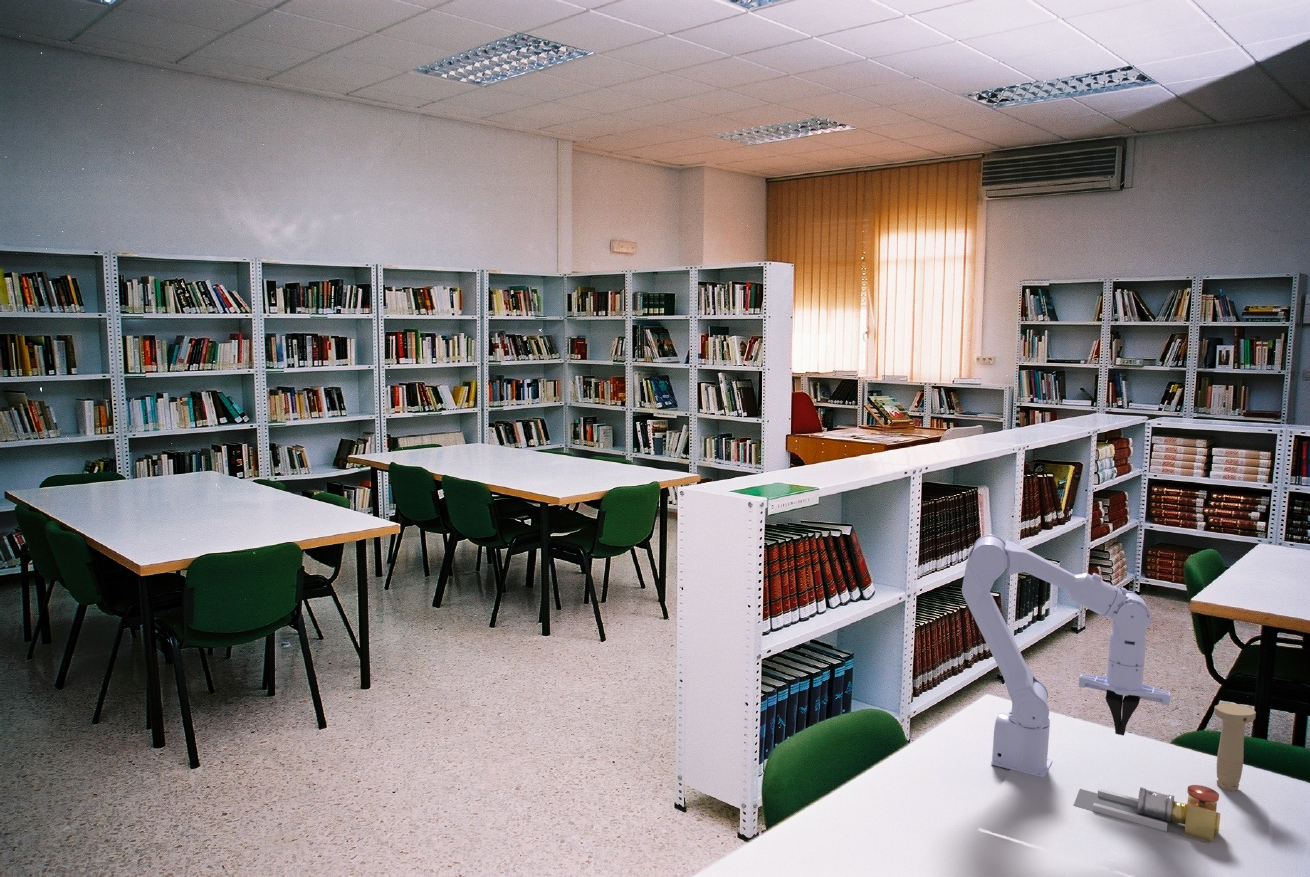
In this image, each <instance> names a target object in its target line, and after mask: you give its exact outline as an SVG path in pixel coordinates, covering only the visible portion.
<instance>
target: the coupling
mask: <svg viewBox="0 0 1310 877" xmlns="http://www.w3.org/2000/svg"><path fill="white" fill-rule="evenodd" d="M1137 799H1138V809H1137V813H1138V814H1142V815H1143V814H1145V815H1149V816H1153V817H1156V818H1160V819H1163V820H1166V821H1167V822H1171V823H1172V809H1173V802H1174V801H1175V795H1173V794H1165V793H1160V792H1157V791H1152V790H1149V789H1147V788H1145V787H1139V793H1138V798H1137Z"/></svg>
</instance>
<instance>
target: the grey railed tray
mask: <svg viewBox="0 0 1310 877" xmlns="http://www.w3.org/2000/svg"><path fill="white" fill-rule="evenodd" d="M1073 806H1074V807H1077V808H1081V809H1083V810H1087V811H1091V812H1095V813H1097V814H1101V815H1105V816H1109V817H1111V818H1116V819H1119V820H1123V821H1127V822H1131V823H1134V824H1137V825H1141V826H1144V827H1148V828H1151V829H1155V830H1157V831H1162V832H1165V833H1170V834H1173V835H1177V836H1180V837H1183V838H1187V839H1191V840H1194V841H1198V842H1202V843H1205V844H1209V845H1210V842H1211V841H1208V840H1204V839H1200V838H1197V837H1193V836H1190V835H1186V834H1184V833H1185V824H1181V823H1177V822H1174V821H1172V823H1171V822H1167V821H1166V820H1163V819H1160V818H1156V817H1153V816H1149V815H1145V814H1143V815H1142V814H1138V813H1137V809H1138V798H1135V797H1132V796H1128V795H1124V794H1121V793H1118V792H1114V791H1109V790H1107V789H1102V788H1098V790H1097V792H1095V791H1091V790H1087V789H1082V788H1079V790H1078V793H1077V795H1076V798H1075V801H1074V803H1073Z"/></svg>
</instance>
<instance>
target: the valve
mask: <svg viewBox="0 0 1310 877" xmlns="http://www.w3.org/2000/svg"><path fill="white" fill-rule="evenodd" d="M1186 789H1187V794H1188V796H1187V803H1182V802H1179V801H1175V800H1174V802H1173V809H1172V821H1174V822H1177V823H1181V824H1185V833H1184V834H1186V835H1190V836H1193V837H1197V838H1200V839H1204V840H1208V841H1210V842H1212V843H1214V836H1215V834H1219V832H1220V824H1221V823H1220V822H1221V812H1217V804H1218V802H1219V799H1220V794H1219V793H1218V791H1216V790H1215V789H1213V788H1210V787H1208V786H1206V785H1200V784H1191V785H1188V786H1187V788H1186Z"/></svg>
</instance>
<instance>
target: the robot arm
mask: <svg viewBox="0 0 1310 877" xmlns="http://www.w3.org/2000/svg"><path fill="white" fill-rule="evenodd" d="M1006 569H1007V570H1008V571H1007V574H1008V575H1009V576H1010V575H1016V574H1020V573H1021V574H1022V573H1026V574H1029V575H1031V576H1032V577H1035V578H1038V579H1040V580H1042V581H1045V582H1046V583H1049V584H1051V585H1053V586H1055V587H1057V588H1061V589H1062V590H1065V591H1066V592H1067V593H1068V595H1069V599H1070V601H1072V602H1073V603H1076V604H1077V605H1079V606H1082V607H1084V608H1086V609H1088V610H1090V611H1092V612H1094V613H1096V614H1097V615H1100V616H1102V617H1104V618H1109V619H1112V625H1111V627H1112V628H1111V632H1110V633H1109V634H1110V635H1109V647H1108V648H1109V649H1108V660H1107V661H1108V662H1107V671H1106V672H1107V673H1106V676H1103V675H1090V674H1084V673H1080V675H1079V678H1078V687H1079V688H1084V689H1086V688H1088V689H1089V688H1090V689H1094V690H1098V691H1103V692H1106V693H1105V698H1104V699H1105V701H1106V703H1107V704H1106V705H1108V708H1109V710H1110V713H1111V716H1112V720H1113V724H1114V732H1115V734H1116V735H1118V736H1125V734H1126V729H1127V725H1128V723H1129V721H1130V718H1131V717H1132V715H1133V714H1134V712H1135V711H1136V709H1137V707H1138V706H1139V703H1140V701H1141V699H1142V700H1146V701H1151V702H1156V703H1159V704H1160V703H1161V704H1162V705H1164V706H1167V707H1169V706H1170V703H1171V694H1172V692H1171V691H1168V690H1163V689H1160V688H1157V687H1155V686H1150V685H1148V684H1144V683H1143V682H1144V671H1145V670H1144V669H1145V668H1144V667H1145V659H1146V658H1145V657H1146V646H1147V639H1146V635H1147V628H1148V627H1149V626H1150V624H1151V623H1152V618H1151V613H1150V611H1149V608H1148V606H1147V604H1146V601H1144V599H1143V598H1142V597H1141V596H1140V595H1138V594H1137V593H1136V592H1135V591H1132V590H1127V589H1126V588H1125V587H1121V588H1118V587H1117V586H1114V585H1112V584H1110V583H1108V582H1106V581H1104V580H1102V578H1101V575H1099V574H1098V573H1096V572H1093V573H1092V575H1091V574H1090V573H1088V572H1083V573H1079V574H1074V573H1073V572H1070V571H1068V570H1066V569H1065V568H1063V567H1061V566H1059V565H1057V564H1055V563H1054V562H1051V561H1050V560H1048V559H1045V558H1044V557H1042V556H1040V555H1039V554H1037V553H1034V552H1032V551H1031V550H1029V549H1027V548H1025V547H1023V546H1022V545H1019V544H1017V543H1015V542H1013V541H1010V540H1007V539H1006V540H1003V538H1002V537H1000V536H998V535H995V534H984V535H982V536H980V537H979V538H978V539H976V540H975V542H974V544H973V545H972V547H971V549H970V551H969V553H968V555H967V559H966V564H965V570H964V575H963V580H962V588H961V593H962V596H963V599H964V601H965V603H966V605H967V607H968V609H969V611H970V613H971V615H972V616H973V619H974V621H975V623H976V625H977V627H978V629H979V631H980V633H981V635H982V637H983V639H984V641H985V643H986V645H987V648H988V650H989V651H990V653H991V654H992V658H993V659H994V661H995V664H996V665H997V667H998V669H999V671H1000V673H1001V675H1002V677H1003V679H1004V683H1005V686H1006V690H1007V693H1008V695H1009V697H1010V700H1011V710H1010V711H1008V713H1002V712H999V713H998V714H997V716H996V719H995V723H994V729H993V739H992V740H993V741H992V742H993V743H992V756H991V757H992V758H991V763H990V764H991V765H992V766H996V767H999V768H1004V769H1007V770H1013V771H1017V772H1021V773H1025V774H1028V775H1032V776H1035V777H1039V778H1043V779H1044V778H1045V777H1046V776H1047V774H1048V772H1049V769H1050V767H1051V765H1052V763H1053V760H1052V759H1050V758H1048V752H1049V739H1050V726H1051V720H1050V718H1049V717H1050V708H1049V705H1048V702H1049V701H1048V699H1049V693H1048V689H1047V687H1046V686H1045V685H1044V683H1043V682H1041V681H1040V680H1039V679H1038V678H1037V677H1036V676H1035V674H1034V673H1033V670H1032V669H1031V668H1030V667H1029V666H1028V665H1027V663H1026V660H1025V659H1024V657H1023V655H1022V653H1021V650H1020V649H1019V647H1018V645H1017V643H1016V640H1015V639H1014V637H1013V635H1012V633H1011V631H1010V629H1009V626H1008V625H1007V622H1006V621H1005V619H1004V616H1003V615H1002V613H1001V611H1000V608H999V606H998V605H997V603H996V600H995V599H994V596H993V594H992V592H991V590H992V587H993V585H994V584H995V581H996V580H998V578H1000V576H1001V575H1002V574H1003V573H1004V572H1005V571H1006Z"/></svg>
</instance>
